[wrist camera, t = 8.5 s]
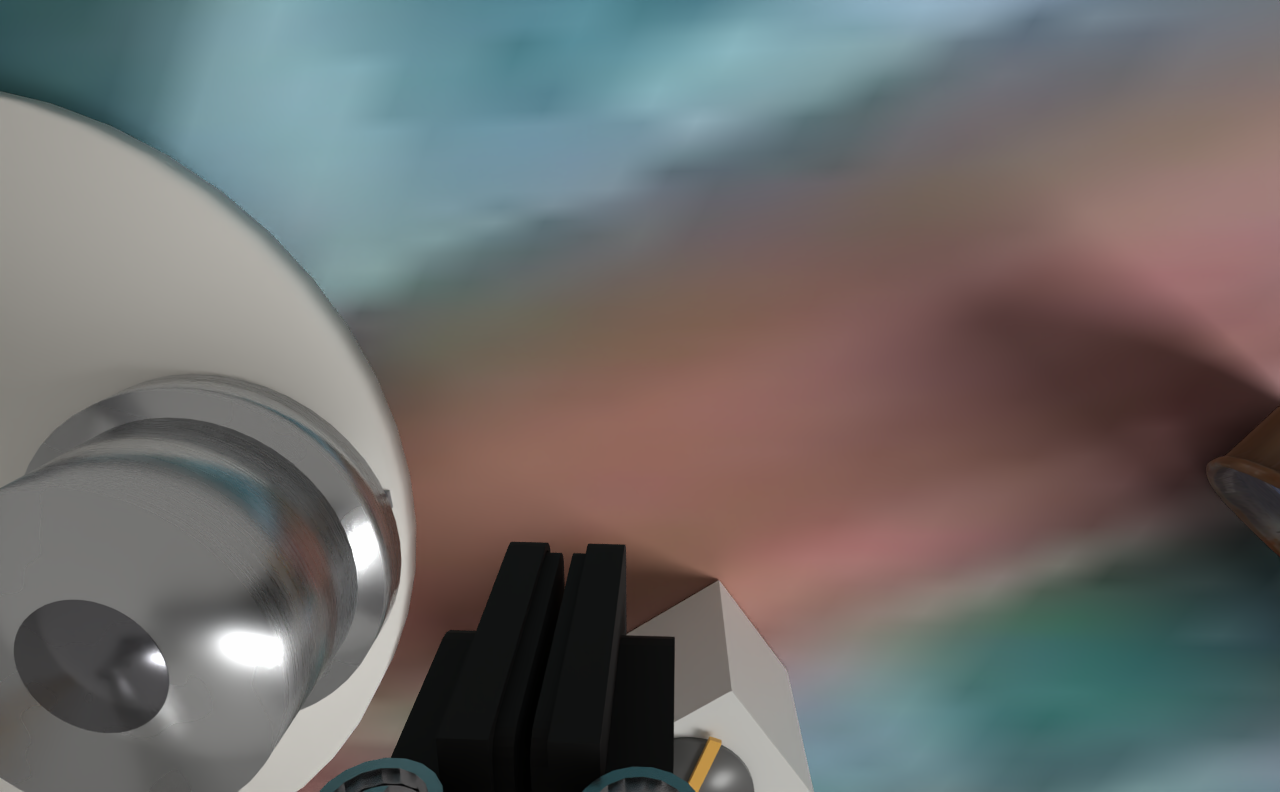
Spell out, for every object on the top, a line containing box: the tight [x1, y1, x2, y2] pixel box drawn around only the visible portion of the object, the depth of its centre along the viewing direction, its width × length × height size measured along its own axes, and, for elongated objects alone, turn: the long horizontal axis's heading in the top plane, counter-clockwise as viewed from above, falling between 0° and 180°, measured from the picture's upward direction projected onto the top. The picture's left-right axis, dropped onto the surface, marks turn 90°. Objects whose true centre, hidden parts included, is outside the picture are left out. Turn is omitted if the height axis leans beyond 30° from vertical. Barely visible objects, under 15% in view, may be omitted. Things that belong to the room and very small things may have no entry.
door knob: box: [0, 374, 402, 792], centre depth 15 cm, size 7×7×4 cm
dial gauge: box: [626, 580, 814, 792], centre depth 18 cm, size 4×3×4 cm
